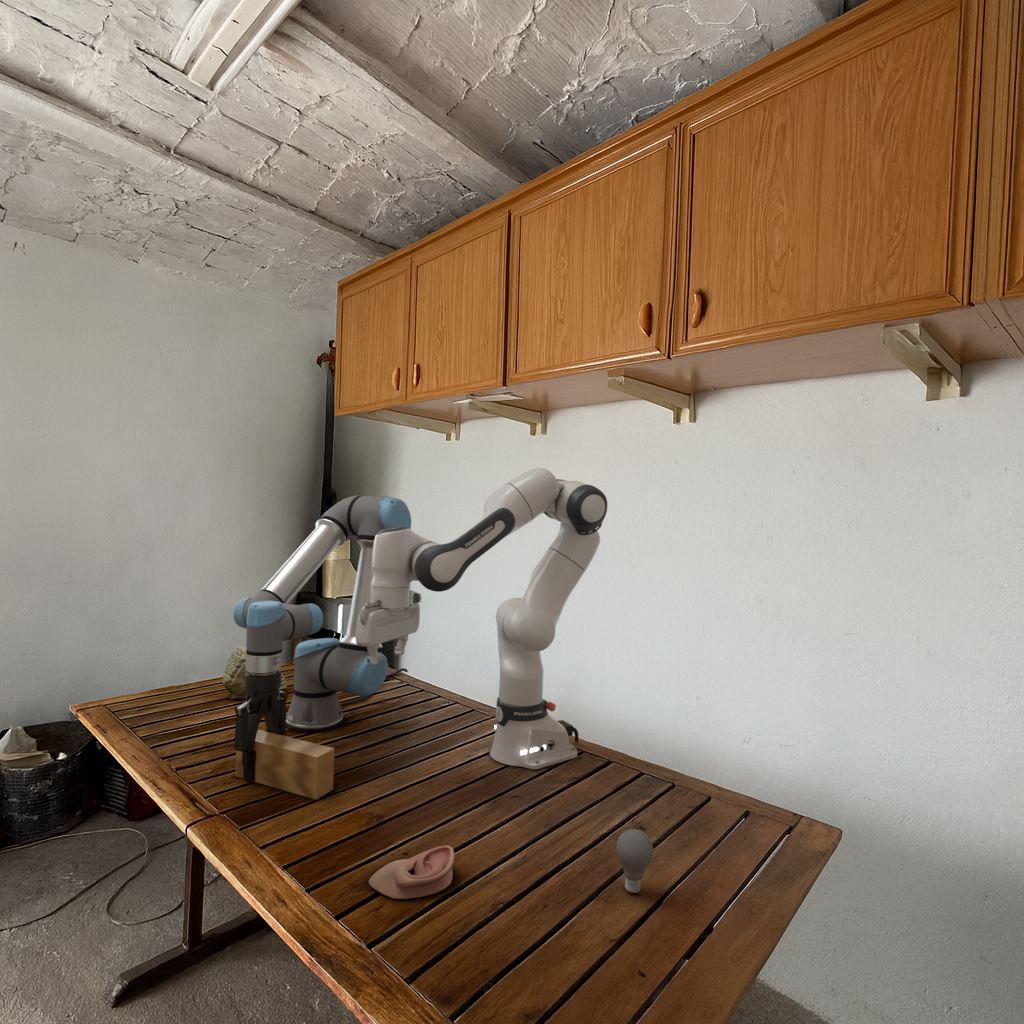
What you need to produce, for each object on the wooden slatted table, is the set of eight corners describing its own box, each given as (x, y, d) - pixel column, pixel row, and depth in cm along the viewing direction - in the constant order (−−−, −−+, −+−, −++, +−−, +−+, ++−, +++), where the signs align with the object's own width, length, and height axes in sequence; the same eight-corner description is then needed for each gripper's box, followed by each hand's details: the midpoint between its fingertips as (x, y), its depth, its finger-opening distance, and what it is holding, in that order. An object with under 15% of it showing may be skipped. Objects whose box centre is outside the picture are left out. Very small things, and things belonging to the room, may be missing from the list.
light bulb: (610, 879, 108) (613, 822, 108) (644, 879, 109) (647, 822, 109) (619, 902, 102) (622, 840, 102) (655, 901, 103) (658, 840, 103)
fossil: (218, 695, 195) (220, 647, 195) (278, 685, 208) (279, 640, 207) (228, 703, 189) (230, 653, 188) (289, 692, 201) (290, 645, 201)
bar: (235, 776, 142) (236, 736, 141) (253, 767, 146) (255, 728, 146) (316, 799, 132) (317, 757, 132) (333, 789, 137) (334, 748, 137)
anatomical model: (361, 868, 102) (389, 832, 113) (360, 893, 102) (388, 854, 113) (440, 882, 99) (460, 843, 110) (439, 907, 99) (459, 866, 110)
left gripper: (243, 684, 132) (239, 794, 132) (305, 664, 149) (301, 762, 149) (217, 678, 135) (213, 786, 135) (280, 660, 152) (277, 756, 152)
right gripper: (374, 605, 133) (371, 671, 133) (425, 594, 151) (423, 651, 152) (349, 602, 135) (347, 667, 135) (403, 591, 154) (400, 648, 154)
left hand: (259, 773), depth 142 cm, fingers closed on bar, 5 cm apart
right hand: (387, 658), depth 144 cm, fingers open, 8 cm apart
